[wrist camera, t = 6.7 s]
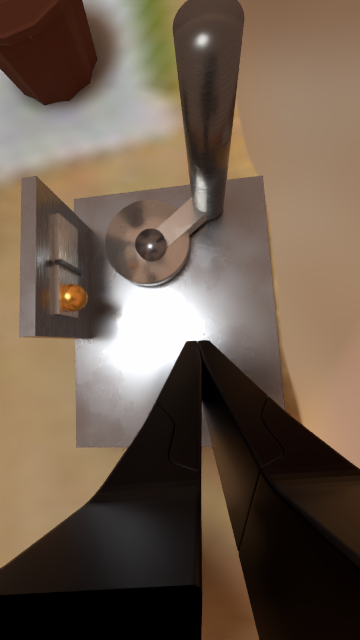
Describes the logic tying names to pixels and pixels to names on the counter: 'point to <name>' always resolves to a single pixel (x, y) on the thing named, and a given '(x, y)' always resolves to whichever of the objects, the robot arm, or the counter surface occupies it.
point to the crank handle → (187, 146)
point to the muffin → (46, 47)
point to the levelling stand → (146, 302)
